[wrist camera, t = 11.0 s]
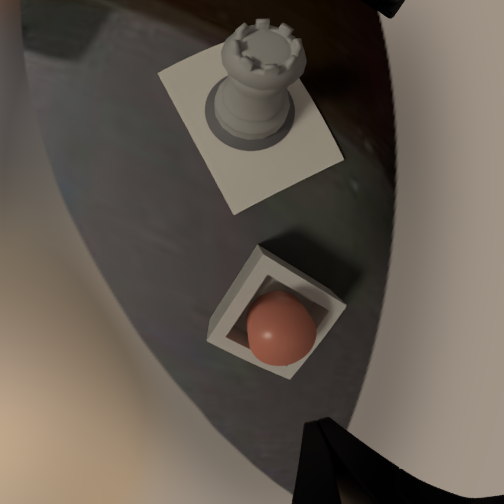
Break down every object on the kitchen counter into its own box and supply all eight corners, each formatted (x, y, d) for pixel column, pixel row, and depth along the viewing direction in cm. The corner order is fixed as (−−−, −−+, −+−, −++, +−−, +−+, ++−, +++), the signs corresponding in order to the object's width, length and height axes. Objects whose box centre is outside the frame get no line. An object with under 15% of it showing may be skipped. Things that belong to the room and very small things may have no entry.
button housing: (257, 244, 17) (263, 254, 14) (330, 289, 18) (346, 305, 15) (209, 319, 18) (206, 340, 15) (281, 355, 19) (289, 379, 16)
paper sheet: (158, 75, 14) (157, 72, 14) (264, 30, 14) (264, 27, 14) (233, 214, 17) (233, 215, 16) (342, 160, 17) (344, 159, 16)
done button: (267, 279, 15) (274, 294, 13) (316, 308, 16) (329, 325, 14) (234, 328, 16) (235, 349, 14) (283, 352, 17) (290, 374, 14)
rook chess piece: (255, 66, 14) (272, -11, 7) (300, 114, 15) (352, 60, 8) (199, 104, 15) (177, 38, 7) (246, 156, 16) (260, 120, 8)
